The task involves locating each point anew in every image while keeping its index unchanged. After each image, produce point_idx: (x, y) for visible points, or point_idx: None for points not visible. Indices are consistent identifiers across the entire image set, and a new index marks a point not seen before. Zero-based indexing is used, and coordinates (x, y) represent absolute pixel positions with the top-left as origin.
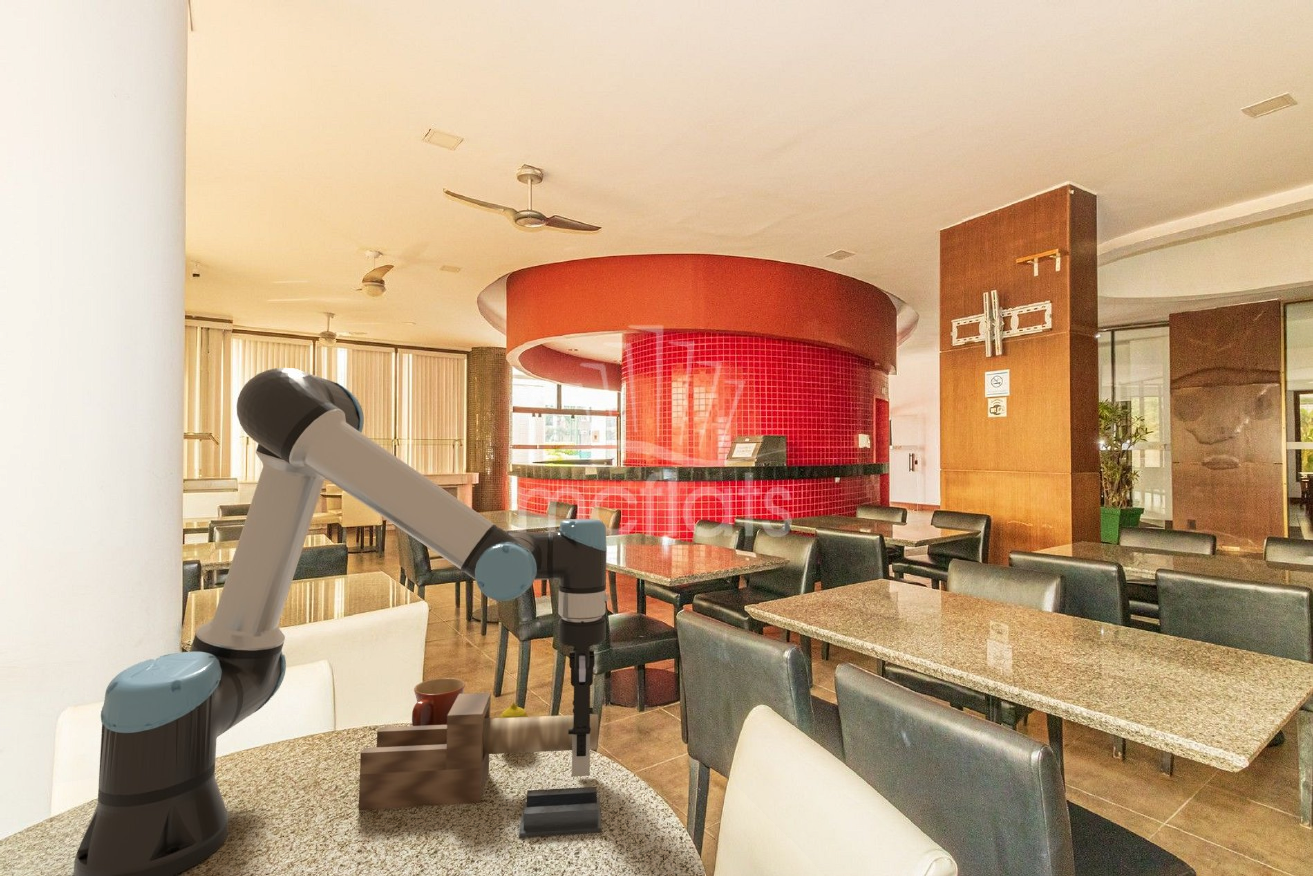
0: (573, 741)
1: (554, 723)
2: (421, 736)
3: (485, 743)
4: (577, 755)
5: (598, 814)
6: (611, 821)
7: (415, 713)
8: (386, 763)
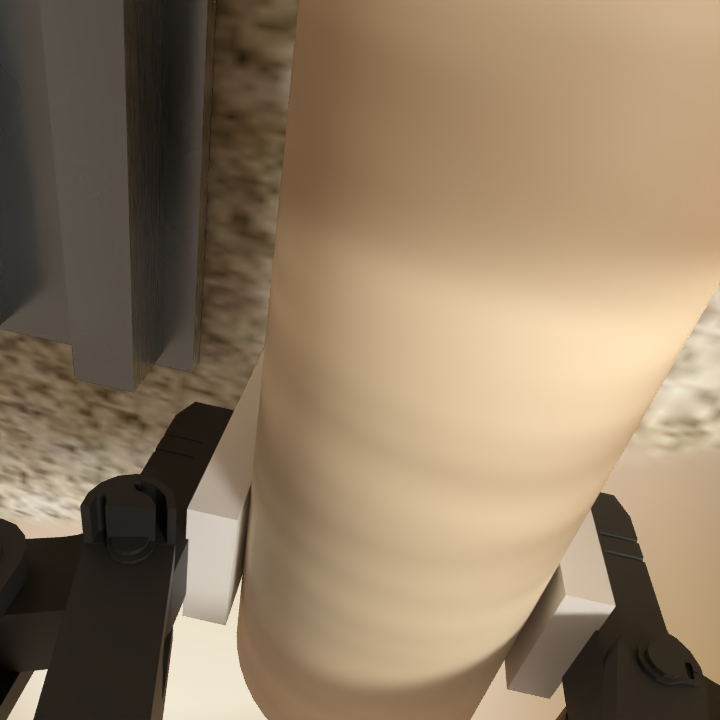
0: (215, 458)
1: (325, 431)
2: None
3: None
4: (185, 412)
5: (39, 328)
6: (33, 360)
7: None
8: None
